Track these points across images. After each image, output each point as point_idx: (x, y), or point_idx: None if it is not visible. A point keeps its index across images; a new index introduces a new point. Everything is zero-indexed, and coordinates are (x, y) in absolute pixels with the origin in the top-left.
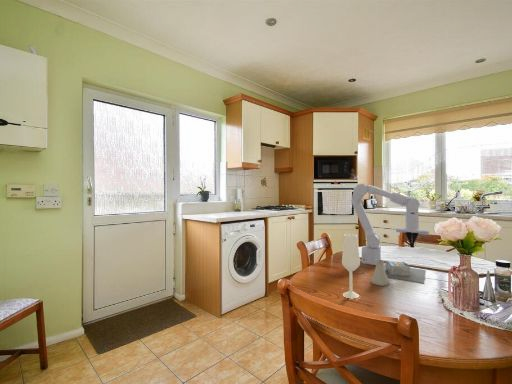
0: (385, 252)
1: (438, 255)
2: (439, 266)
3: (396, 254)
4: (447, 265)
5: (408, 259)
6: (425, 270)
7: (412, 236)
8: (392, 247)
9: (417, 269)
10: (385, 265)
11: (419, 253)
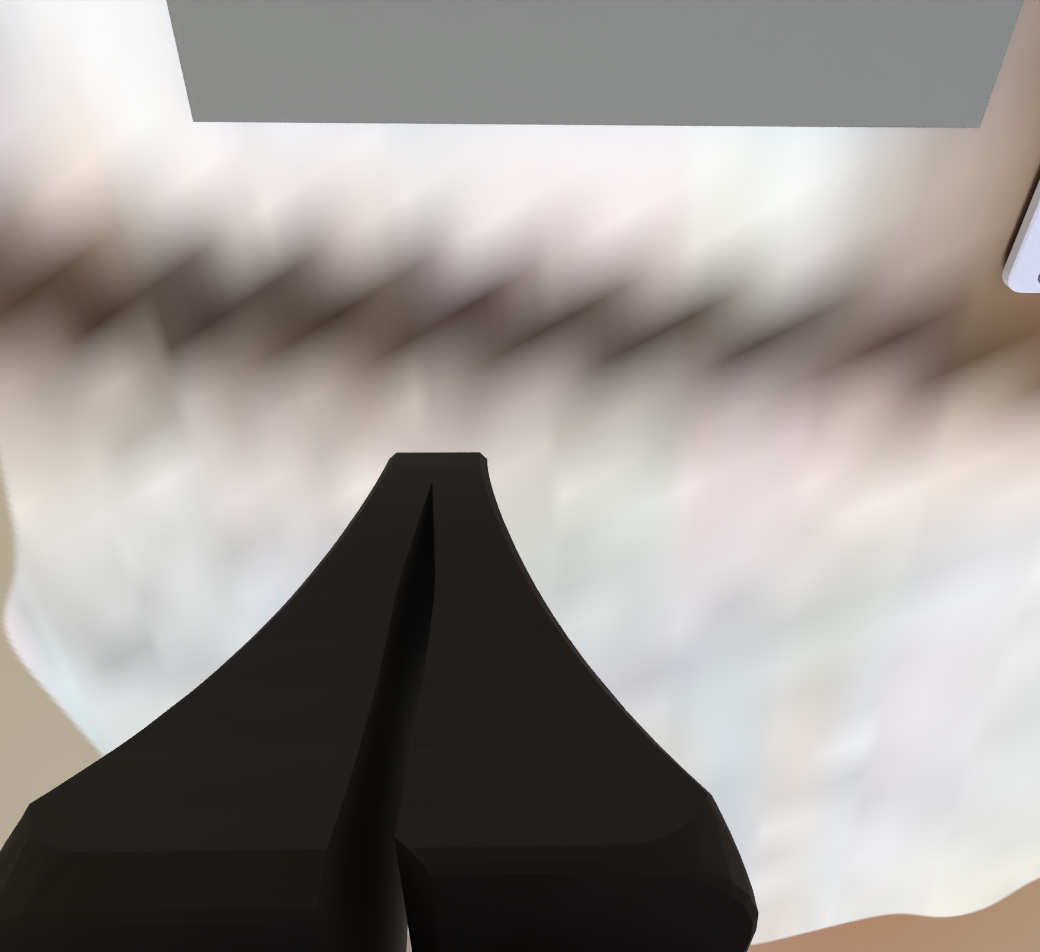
0: (842, 774)
1: None
2: (103, 505)
3: (706, 754)
4: (38, 596)
5: None
6: (185, 74)
7: (330, 781)
8: None
9: (338, 63)
10: (1007, 2)
11: None
